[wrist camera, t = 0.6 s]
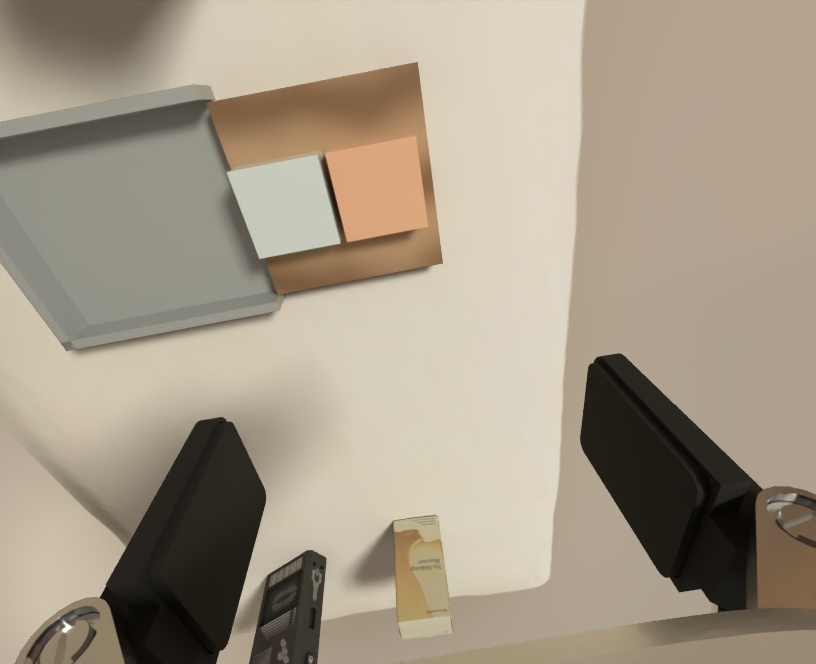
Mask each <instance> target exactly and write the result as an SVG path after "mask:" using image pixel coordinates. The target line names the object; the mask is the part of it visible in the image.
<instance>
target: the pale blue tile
mask: <svg viewBox="0 0 816 664" xmlns="http://www.w3.org/2000/svg"><path fill="white" fill-rule="evenodd" d="M227 175H228V178H229V180H230V183H231V185H232V188H233V191H234V193H235V196H236V199H237V201H238V204H239V206H240V209H241V212H242V214H243V217H244V220H245V222H246V225H247V227H248V230H249V233H250V235H251V238H252V241H253V243H254V246H255V249H256V251H257V254H258V256H259V259H262V258H267V257H272V256H277V255H283V254H288V253H293V252H299V251H304V250H309V249H314V248H320V247H325V246H330V245H335V244H340V243H341V238H342V230H341V226H340V222H339V219H338V215H337V211H336V207H335V203H334V199H333V195H332V191H331V187H330V183H329V179H328V176H327V172H326V168H325V164H324V160H323V156H322V152H321V151H316V152H311V153H306V154H300V155H295V156H290V157H285V158H280V159H274V160H269V161H264V162H259V163H253V164H248V165H243V166H238V167H236V168H234V169H232V170H230V171H228V172H227Z"/></svg>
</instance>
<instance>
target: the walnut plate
mask: <svg viewBox="0 0 816 664" xmlns="http://www.w3.org/2000/svg"><path fill="white" fill-rule="evenodd" d="M206 104H207V107H208V109H209V112H210V115H211V117H212V120H213V123H214V125H215V128H216V131H217V133H218V136H219V139H220V141H221V144H222V147H223V149H224V152H225V155H226V157H227V160H228V163H229V165H230V168H231V170H232V169H234V168H236V167H238V166H243V165H248V164H253V163H259V162H264V161H269V160H274V159H280V158H285V157H290V156H295V155H300V154H306V153H311V152H316V151H321V152H322V156H323V160H324V164H325V168H326V172H327V176H328V179H329V183H330V187H331V191H332V195H333V199H334V203H335V207H336V211H337V215H338V219H339V222H340V226H341V230H342V238H341V243H340V244H335V245H330V246H325V247H320V248H314V249H309V250H304V251H299V252H293V253H288V254H283V255H277V256H272V257H267V258H264V259H265V262H266V265H267V267H268V270H269V273H270V275H271V278H272V281H273V283H274V286H275V289H276V291H277V294H278V295H279V294H284V293H289V292H294V291H300V290H305V289H310V288H316V287H321V286H326V285H331V284H337V283H342V282H347V281H353V280H358V279H363V278H368V277H374V276H379V275H384V274H389V273H395V272H400V271H405V270H411V269H416V268H421V267H426V266H432V265H437V264H442V263H443V261H442V253H441V245H440V237H439V229H438V221H437V213H436V205H435V197H434V189H433V181H432V173H431V165H430V157H429V149H428V142H427V134H426V126H425V118H424V110H423V102H422V94H421V86H420V78H419V70H418V62H416V63H410V64H405V65H400V66H395V67H390V68H384V69H379V70H374V71H369V72H364V73H359V74H353V75H348V76H343V77H338V78H333V79H328V80H322V81H317V82H312V83H307V84H302V85H296V86H291V87H286V88H281V89H276V90H271V91H265V92H260V93H255V94H250V95H245V96H240V97H234V98H229V99H224V100H219V101H214V102H209V103H206ZM410 133H413V134H414V135H415V136H416V140H417V148H418V155H419V162H420V169H421V176H422V184H423V191H424V198H425V205H426V213H427V220H428V227H425V228H419V229H414V230H409V231H404V232H398V233H393V234H388V235H383V236H377V237H372V238H367V239H362V240H356V241H351V242H347V239H346V235H345V231H344V228H343V224H342V220H341V216H340V212H339V208H338V204H337V200H336V196H335V192H334V188H333V184H332V180H331V176H330V172H329V168H328V164H327V160H326V156H325V152H326V151H327V150H328V149H332V148H337V147H342V146H347V145H352V144H358V143H363V142H368V141H373V140H378V139H384V138H389V137H394V136H399V135H405V134H410Z"/></svg>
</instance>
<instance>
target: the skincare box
mask: <svg viewBox="0 0 816 664" xmlns="http://www.w3.org/2000/svg"><path fill="white" fill-rule="evenodd" d="M393 527H394V553H395V580H396V605H397V626H398V632H399V637H400V639H401V640H404V639H411V638H419V637H420V638H424V637H431V636H435V635H443V634H452V633H453V623H452V614H451V607H450V599H449V592H448V585H447V578H446V571H445V563H444V556H443V549H442V542H441V535H440V529H439V521H438V516H429V517H420V518H412V519H404V520H397V521H393Z"/></svg>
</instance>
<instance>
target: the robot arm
mask: <svg viewBox="0 0 816 664" xmlns="http://www.w3.org/2000/svg"><path fill="white" fill-rule="evenodd" d="M580 441H581V446H582V449H583V451H584V453H585V455H586V456H587V458H588V459H589V461H590V463H591V464H592V466H593V467H594V469H595V471H596V472H597V474H598V475H599V477H600V479H601V480H602V482H603V483H604V485H605V487H606V488H607V490H608V491H609V493H610V494H611V496H612V498H613V499H614V501H615V503H616V504H617V506H618V507H619V509H620V511H621V512H622V514H623V515H624V517H625V519H626V520H627V522H628V523H629V525H630V527H631V528H632V530H633V531H634V533H635V534H636V536H637V538H638V539H639V541H640V543H641V544H642V546H643V547H644V549H645V551H646V552H647V554H648V555H649V557H650V559H651V560H652V562H653V564H654V565H655V566H656V568H657V570H658V571H659V573H660V574H661V575H663V576H664V577H666V578H668V577H670V579H671V580H672V582H673V583H674V585H675V586H676V588H677V590H678V591H679V592H684V591H691V590H697V589H702V591H703V592H704V594H705V595H706V597H707V598H708V599H709V601H710V602H712V609H711V613H710V614H702V615H695V616H688V617H681V618H673V619H667V620H659V621H652V622H644V623H638V624H632V625H625V626H619V627H613V628H606V629H601V630H594V631H587V632H581V633H575V634H569V635H562V636H556V637H550V638H543V639H537V640H531V641H524V642H518V643H512V644H506V645H500V646H493V647H488V648H481V649H475V650H470V651H463V652H457V653H450V654H445V655H438V656H432V657H426V658H420V659H414V660H408V661H402V662H396V663H390V664H816V494H813V493H811V492H808V491H806V490H802V489H798V488H793V487H789V486H774V487H770V488H766V489H764V490H763V489H762V488H761V487H760V486H759V485H758V484H757V483H756V482H755V481H754V480H753V479H752V478H750V477H749V476H748V475H747V474H746V473H745V472H744V471H743V470H742V469H741V468H740V467H739V466H738V465H737V464H736V463H735V462H734V461H733V460H732V459H731V458H730V457H729V456H728V455H727V454H726V453H725V452H724V451H722V450H721V449H720V448H719V447H718V446H717V445H716V444H715V443H714V442H713V441H712V440H711V439H710V438H709V437H708V436H707V435H706V434H705V433H704V432H703V431H702V430H701V429H700V428H699V427H698V426H696V424H694V422H692V421H691V420H690V419H689V418H688V417H687V416H686V415H685V414H684V413H683V412H682V411H681V410H680V409H679V408H678V407H677V406H676V405H675V404H673V403H672V402H671V401H670V400H669V399H668V398H667V397H666V396H665V395H664V394H663V393H662V392H661V391H660V390H659V389H658V388H657V387H656V386H655V385H654V384H653V383H651V381H650V380H649V379H648V378H647V377H646V376H645V375H643V374H642V373H641V372H640V371H639V370H638V369H637V368H636V367H635V366H634V365H633V364H632V363H631V362H630V361H629V360H628V359H627V358H626V357H625V356H623V355H622V354H619V353H618V354H612V355H606V356H600V357H597V358H596V359H595V361H594V363H592V364H590V365H589V367H588V374H587V383H586V392H585V402H584V409H583V418H582V427H581V436H580ZM265 503H266V492H265V489H264V486H263V484H262V482H261V480H260V478H259V476H258V474H257V472H256V470H255V468H254V466H253V463H252V461H251V459H250V457H249V455H248V453H247V451H246V449H245V447H244V445H243V443H242V440H241V438H240V436H239V434H238V432H237V430H236V428H235V426H234V424H233V423H232V422H227V421H226V419H224V418H222V417H219V418H213V419H207V420H201V421H198V422H197V423H196V424H195V426H194V428H193V430H192V431H191V433H190V435H189V437H188V439H187V440H186V442H185V444H184V446H183V448H182V449H181V451H180V453H179V455H178V456H177V458H176V460H175V462H174V464H173V465H172V467H171V469H170V471H169V473H168V474H167V476H166V478H165V480H164V481H163V483H162V485H161V487H160V489H159V490H158V492H157V494H156V496H155V498H154V499H153V501H152V503H151V505H150V506H149V508H148V510H147V512H146V514H145V515H144V517H143V519H142V521H141V523H140V524H139V526H138V528H137V530H136V531H135V533H134V535H133V537H132V539H131V540H130V542H129V544H128V546H127V548H126V550H125V551H124V553H123V555H122V556H121V558H120V560H119V562H118V564H117V566H116V567H115V569H114V571H113V573H112V574H111V576H110V578H109V580H108V582H107V583H106V587H105V589H104V591H103V593H102V595H101V596H100V598H98V597H92V598H85V599H82V600H79V601H76V602H74V603H72V604H70V605H69V606H66V607H65V608H63V609H61V610H60V611H58V612H57V613H56V614H55V615H53V616H52V617H51V618H49V620H47V621H46V622H45V623H44V624H43V625H42V626H41V627H40V628H39V629H38V630H37V631H36V632H35V633H34V634H33V635H32V636H31V637H30V639H29V640H28V642H27V643H26V644H25V646H24V647H23V649H22V650H21V651H20V654H19V656H18V658H17V660H16V662H15V664H216V662H217V658H218V655H219V651H221V650H223V649H224V648H225V647H226V645H227V644H228V641H229V638H230V634H231V630H232V626H233V623H234V619H235V615H236V612H237V608H238V604H239V600H240V597H241V593H242V589H243V585H244V582H245V578H246V574H247V571H248V567H249V563H250V559H251V556H252V552H253V548H254V544H255V541H256V537H257V533H258V530H259V526H260V522H261V518H262V515H263V511H264V507H265Z"/></svg>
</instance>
